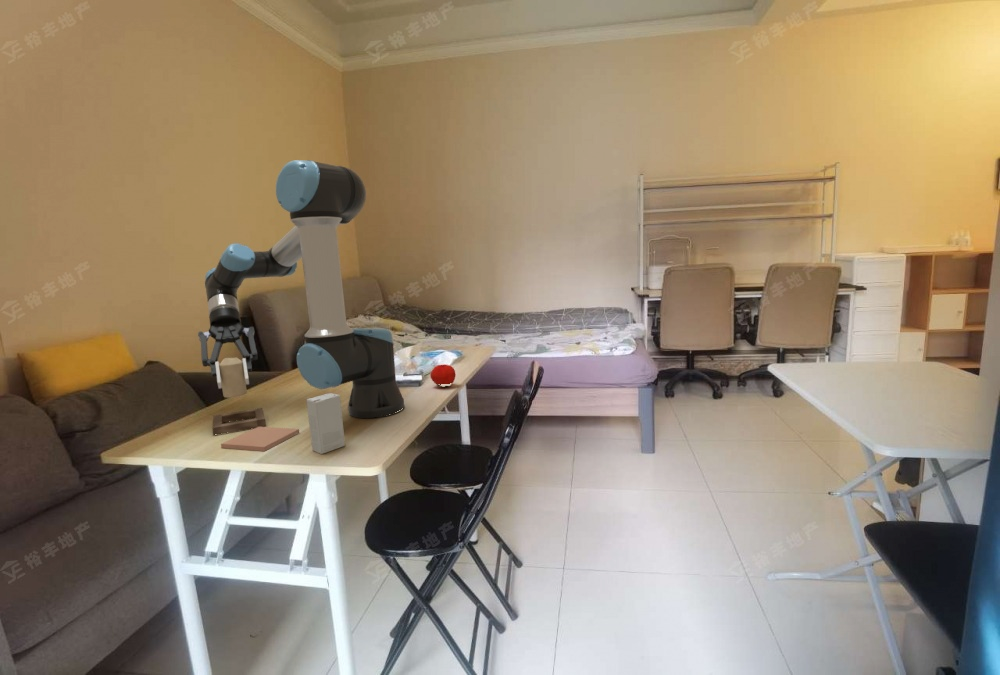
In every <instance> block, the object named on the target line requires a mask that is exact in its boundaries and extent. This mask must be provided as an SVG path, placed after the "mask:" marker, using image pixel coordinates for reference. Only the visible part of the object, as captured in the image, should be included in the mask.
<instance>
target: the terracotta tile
mask: <svg viewBox="0 0 1000 675" xmlns="http://www.w3.org/2000/svg"><path fill="white" fill-rule="evenodd" d="M298 434H300V428H288V427H274V426H272V427H271V426H265V427H257V428H254V429H249V430H248V431H245V432H244V433H241V434H240V435H237V436H235V437H233V438H230V439H228V440H226V441H224V442H222V443H220V446H221V449H229V450H230V449H231V450H241V451H243V450H245V451H255V452H256V451H257V452H266V451H267V450H270V449H272V448H274V447H275V446H277V445H279V444H282V442H285V441H286V440H289V439H292V437H294V436H297V435H298Z"/></svg>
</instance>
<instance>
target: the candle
mask: <svg viewBox="0 0 1000 675" xmlns="http://www.w3.org/2000/svg"><path fill="white" fill-rule="evenodd" d="M219 369H220V376H221V384H222V388H221V389H222V395H223V396H222V397H224V398H238V397H241V396H245V395H247V393H248V391H247V384H246V382H245V375H244V368H243V360H242V359H240V358H238V357H237V356H236V357H225V358H223V359H222V360H221V362H219Z"/></svg>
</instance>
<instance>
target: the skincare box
mask: <svg viewBox="0 0 1000 675" xmlns="http://www.w3.org/2000/svg"><path fill="white" fill-rule="evenodd" d="M341 401H342V400H341V396H340V394H336V393H332V392H328V393H325V394H322V395H318V396H314V397H311V398H306V409H307V415H308V424H309V433H310V434H309V435H310V441H311V449H312V451H313V452H316V453H318V454H321V455H323V454H326V453H329V452H331V451H335V450H337V449H339V448H343V447H345V446H346V440H345V439H346V438H345V431H344V430H345V429H344V420H343V413H342V411H343V410H342V404H341V403H342V402H341Z"/></svg>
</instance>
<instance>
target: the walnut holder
mask: <svg viewBox="0 0 1000 675" xmlns="http://www.w3.org/2000/svg"><path fill="white" fill-rule="evenodd" d="M255 417H256V418H255ZM249 418H251V419H249ZM242 419H246V420H242ZM236 420H240V421H236ZM229 421H234V422H229ZM266 421H267V420H266V416H265V413H264V410H263V407H258V408H252V409H247V410H240V411H235V412H229V413H223V414H216V415H215V414H214V415H212V434H213V435H215V434H221V433H226V434H228V433H227V432H232V433H235V432H234V431H237V432H240V431H239V430H243V431H246V430H245V429H248V430H252V429H251V428H254V429H255V428H257V427H267V422H266ZM223 422H228V423H223ZM221 435H222V434H221ZM215 436H216V435H215Z"/></svg>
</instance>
